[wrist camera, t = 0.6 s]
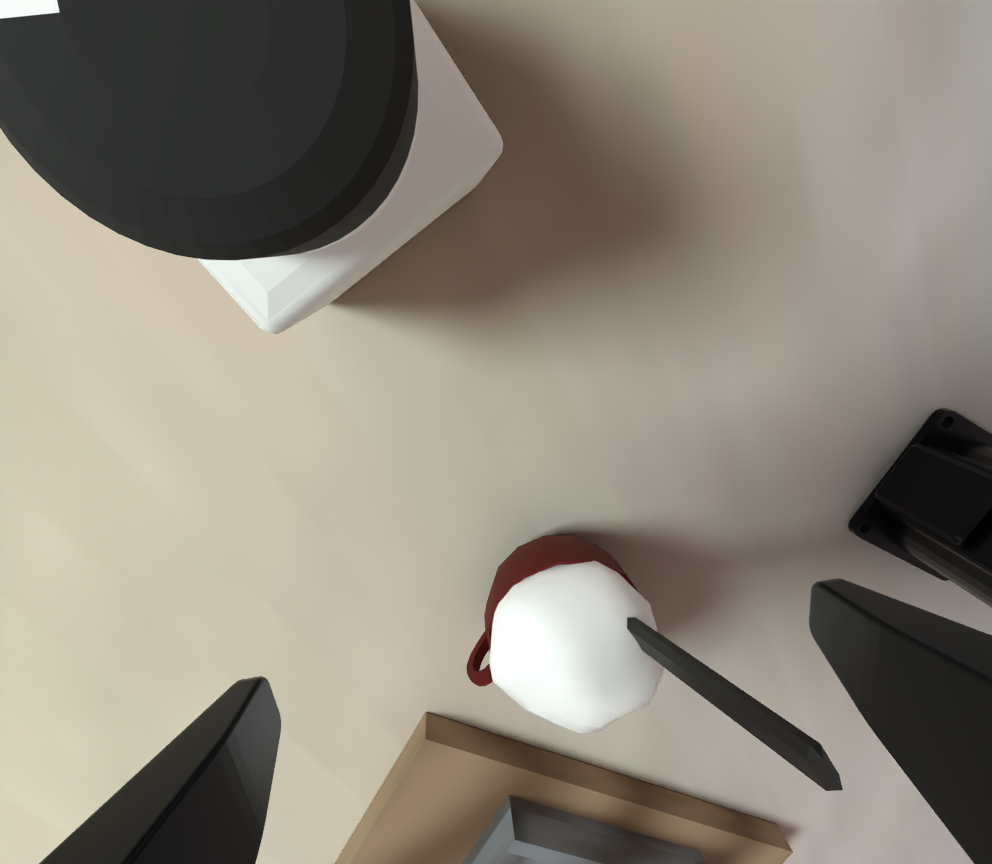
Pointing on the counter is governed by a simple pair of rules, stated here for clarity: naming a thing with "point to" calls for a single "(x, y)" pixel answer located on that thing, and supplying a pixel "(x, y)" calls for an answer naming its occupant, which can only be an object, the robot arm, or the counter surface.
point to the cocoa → (603, 650)
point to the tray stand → (539, 811)
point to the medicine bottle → (247, 132)
